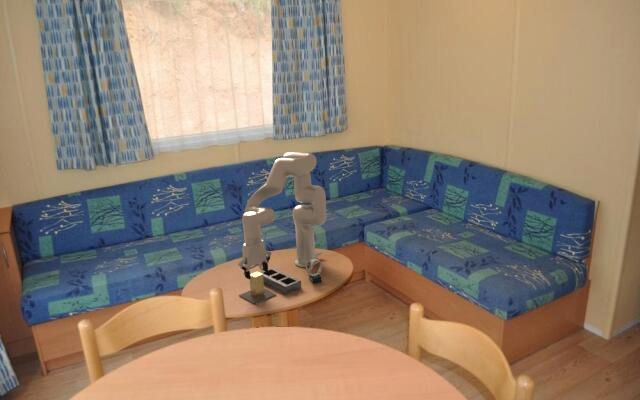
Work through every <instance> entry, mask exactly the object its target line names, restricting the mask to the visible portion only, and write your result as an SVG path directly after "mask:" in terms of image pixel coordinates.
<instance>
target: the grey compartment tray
mask: <svg viewBox="0 0 640 400" xmlns="http://www.w3.org/2000/svg"><path fill="white" fill-rule="evenodd" d="M261 271H262V270H261ZM261 271H258V272H259V273H261V274H263V282H264V285H266V286H267V287H270V288H272V289H274V290H276V291H278V292H280V293H282V294H284V295H289V294H292V293H294V292H296V291H298V290H301V289H302V280H300V279H298V278H297V277H295V276H292V275H290V274H287V273H286V272H283V271H280V270H278V269H276V268H274V267H270V268H268V272H265V271H262V272H261Z"/></svg>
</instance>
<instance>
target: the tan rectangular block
mask: <svg viewBox="0 0 640 400" xmlns="http://www.w3.org/2000/svg"><path fill="white" fill-rule="evenodd" d="M259 272H260V271H255V272H252V273H250V277H251V279H249V287H250V290H251V295H253V296H254V297H256V298H257V297H260V296H262V295H265V294H264V288H265V284H264V282H263V274H261V273H259Z"/></svg>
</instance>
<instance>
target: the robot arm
mask: <svg viewBox="0 0 640 400" xmlns="http://www.w3.org/2000/svg"><path fill="white" fill-rule="evenodd" d="M317 162H318V160H317V158H316V156H315V154H313V153H310V152H309V153H308V152H297V151H291V152H290V151H289V152H285V153H284V154H283V156H282V157H280V158H277V159H276V160H274V163H273V164H272V167H271V170H270V172H269V174H268V176H267V178H266V181H265V183H264V184H263V186H261V187H259V188H258V189H257V190H256V191H255V192H253V193H252V195H250V197H249V199H248V201H247V203H246V205H245V208H244V212H243V214H242V216H241V217H242V218H241V219H242V220H241V221H242V229H243V237H244V243H243V245H242V259H241V261H239V262H238V263H237V264H238V267H240V269H242V270H243V274H244V273H245V274H244V277H245V278H246V279H248V280H250V279H251V277H250V274H251V272H250V270H251V269H250V267H252V266H254V265H256V264H258V263H261V262H262V265H261V267H262V269H263V271H265V272H268V269H269V263H270V262H269V261H270V260H271V256H272V251H268V250H266V246H265V242H264V240H263V237H264V233H262V229H261V228H262V227H264V226H267V225H270V224H271V223H273V222H274V221H275V220H276V219H275V218H276V212H275V211H274V209H272V208H270V207H264V206H260V205H261V203H262V202H263V201H265V200H267V199H269V198H272V197H274V196H277V195H279V194H281V193H282V192H283V190H284V187H285V185H286V183H287V180H288V178H289V177H292V178H293V182H294V183H293V184H294V187H293V188H294V198H295V201H296V202H298V203H301V204H298V205H296V206H295V207H294V208H293V209H292V218H293V222H294V228H295V242H296V243H295V245H296V259H295V260H294V265H295V266H297V267H300V268H306V265H307V263H308V261H310V260H312V259H318V257H320V256H322V254H323V252H322V251H316V248H315V247H316V245H315V243H316V242H315V229H314V227H313V226H318V227H319V226H322V225H324V224H325V222H326V219H327V197H326V196H327V195H326V191H325V189H324V187H322V186H320V185H315V184H314V185H313V184H312V178H311V172H312V171H314V169H315V168H316V166H317ZM318 264H319V261H315V262H314V264H313V267H314V266H317V265H318Z"/></svg>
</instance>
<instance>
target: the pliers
mask: <svg viewBox="0 0 640 400" xmlns="http://www.w3.org/2000/svg"><path fill="white" fill-rule="evenodd" d="M257 266H258V268H259V269H260V270H261V271H260V272H262V271H263V266H262V262H261V263H258V264H256V265H253V266H251V267H250V269H249V270H251V269H254V268H255V267H257ZM243 275H245V273H244V272H243Z"/></svg>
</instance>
